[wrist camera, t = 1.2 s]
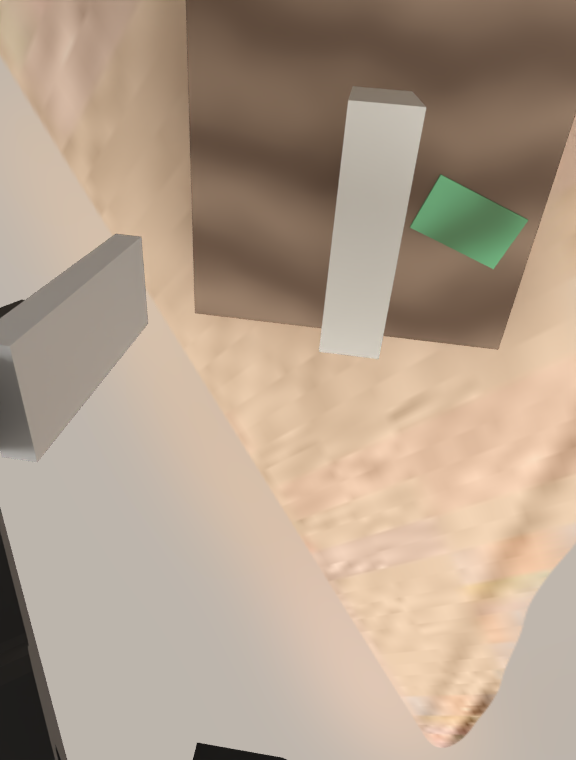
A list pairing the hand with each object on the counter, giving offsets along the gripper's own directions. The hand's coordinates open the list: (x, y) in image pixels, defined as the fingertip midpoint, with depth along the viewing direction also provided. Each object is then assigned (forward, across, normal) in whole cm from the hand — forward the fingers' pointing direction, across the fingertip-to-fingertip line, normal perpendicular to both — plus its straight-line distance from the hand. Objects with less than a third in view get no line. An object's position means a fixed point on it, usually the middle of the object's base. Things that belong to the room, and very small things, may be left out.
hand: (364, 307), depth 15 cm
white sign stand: (+17, 0, -2) cm, 17 cm away
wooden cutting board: (+19, 0, 0) cm, 19 cm away
